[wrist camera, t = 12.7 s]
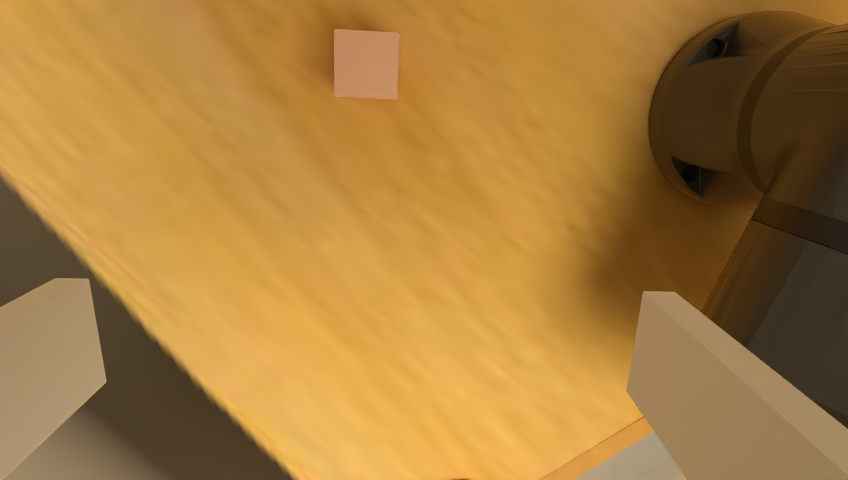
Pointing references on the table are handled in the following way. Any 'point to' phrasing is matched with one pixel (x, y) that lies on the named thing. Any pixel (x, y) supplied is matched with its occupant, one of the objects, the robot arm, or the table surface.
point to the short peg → (366, 64)
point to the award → (624, 458)
